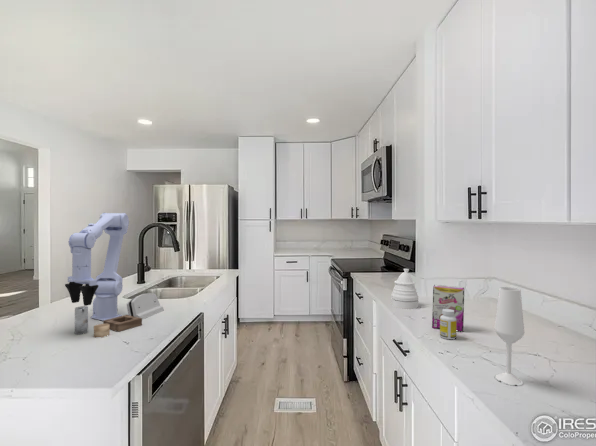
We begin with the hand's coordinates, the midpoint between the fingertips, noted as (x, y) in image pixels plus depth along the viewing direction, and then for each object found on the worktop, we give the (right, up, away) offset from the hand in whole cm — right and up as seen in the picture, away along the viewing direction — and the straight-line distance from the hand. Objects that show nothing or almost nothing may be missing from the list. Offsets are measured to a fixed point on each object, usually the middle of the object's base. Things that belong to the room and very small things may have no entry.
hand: (81, 303), depth 123 cm
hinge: (+12, -11, +24) cm, 29 cm away
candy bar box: (+136, -12, +10) cm, 137 cm away
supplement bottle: (+132, -12, 0) cm, 132 cm away
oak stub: (+9, -11, -3) cm, 14 cm away
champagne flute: (+133, -12, -33) cm, 138 cm away
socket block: (+11, -11, +8) cm, 17 cm away
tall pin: (0, -10, 0) cm, 10 cm away
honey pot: (+131, -12, +45) cm, 139 cm away
